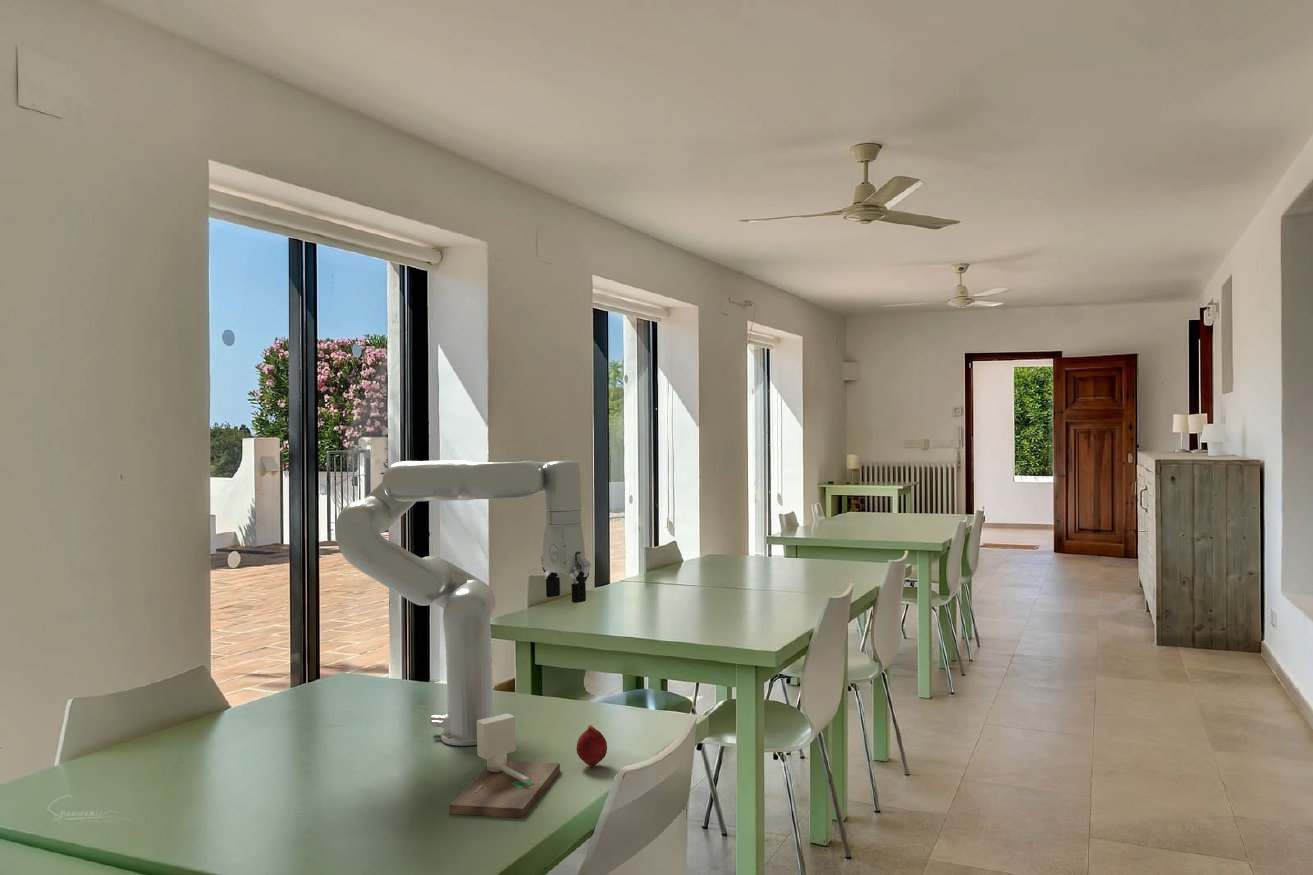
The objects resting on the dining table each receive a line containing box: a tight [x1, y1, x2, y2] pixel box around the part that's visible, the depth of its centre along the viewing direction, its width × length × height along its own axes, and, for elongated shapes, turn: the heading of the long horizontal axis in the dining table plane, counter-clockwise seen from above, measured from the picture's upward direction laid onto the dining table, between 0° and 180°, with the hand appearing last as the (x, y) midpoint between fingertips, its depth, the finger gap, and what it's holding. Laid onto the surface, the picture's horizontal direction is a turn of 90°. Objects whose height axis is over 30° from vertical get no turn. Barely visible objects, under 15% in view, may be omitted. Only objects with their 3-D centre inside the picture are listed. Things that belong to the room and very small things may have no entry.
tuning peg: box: [476, 712, 529, 782], centre depth 165 cm, size 12×6×9 cm, turn 39°
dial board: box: [448, 760, 561, 819], centre depth 162 cm, size 13×21×2 cm, turn 169°
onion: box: [575, 723, 608, 768], centre depth 173 cm, size 6×6×8 cm
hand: (565, 599), depth 193 cm, fingers open, 9 cm apart
